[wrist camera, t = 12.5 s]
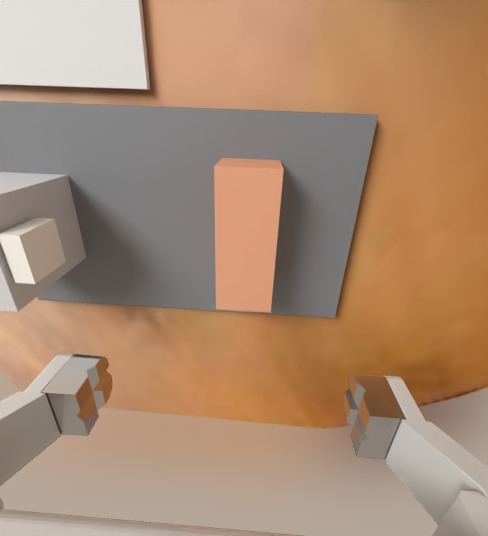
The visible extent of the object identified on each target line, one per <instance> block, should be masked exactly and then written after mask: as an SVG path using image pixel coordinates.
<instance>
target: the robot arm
mask: <svg viewBox="0 0 488 536" xmlns="http://www.w3.org/2000/svg"><path fill="white" fill-rule="evenodd" d="M108 366H109V363H108V360H107V358H105V357H100V356H90V355H79V354H66V353H60V354H58V355H56V356H55V357H54V358H53V359H52V361H51V362H50V363H49V364H48V365H47V366H46V367H45V368H44V370H43V371H42V372H41V373H40V374H39V375H38V376H37V377H36V378H35V380H34V381H33V382H32V383H31V384H30V385H29V386H28V387H27V388H26V390H25V391H24V392H17V393H15V394H13V395H11V396H10V397H8V398H6V399H4V400H2V401H0V486H1V485H2V484H4V483H5V482H6V481H7V480H8V479H10V478H11V477H12V476H13V475H15V474H16V473H17V472H18V471H19V470H21V469H22V468H23V467H24V466H25V465H26V464H28V463H29V462H30V461H31V460H33V459H34V458H35V457H36V456H37V455H39V454H40V453H41V452H42V451H44V450H45V449H46V448H47V447H48V446H50V445H51V444H52V443H53V442H54V441H56V440H57V439H58V438H59V437H60V436H61V435H82V436H88V435H89V433H90V431H91V429H92V428H93V426H94V424H95V422H96V420H97V419H98V411H97V410H98V409H100V408H101V407H103V406H104V405H105V404H106V403H107V401H108V399H109V397H110V394H111V390H112V377H111V375H110V374H109V373H108V372H107V371H106V370H107V368H108ZM348 384H349V387H350V389H349V390H347V391H346V392H345V396H344V414H345V418H346V422H347V423H348V424H349V425H350V426H351V427H352V428H353V429H352V432H351V439H352V443H353V446H354V449H355V453H356V456H357V457H364V458H373V459H383V460H385V462H386V463H387V464H388V466H389V467H390V468H391V469H392V470H393V471H394V473H395V474H396V475H397V476H398V478H399V479H400V480H401V481H402V482H403V484H404V485H405V486H406V487H407V488H408V490H409V491H410V492H411V493H412V494H413V496H414V497H415V498H416V499H417V500H418V501H419V503H420V504H421V505H422V506H423V507H424V509H425V510H426V511H427V512H428V513H429V515H430V516H431V517H432V518H433V520H434V521H435V522H436V523H437V524H438V527H437V529H436V531H435V532H434V533H433V535H432V536H488V467H487V466H486V465H485V464H484V463H482V462H481V461H480V460H479V459H477V458H476V457H475V456H474V455H472V454H471V453H470V452H469V451H467V450H466V449H465V448H463V447H462V446H461V445H460V444H458V443H457V442H456V441H454V440H453V439H452V438H451V437H450V436H448V435H447V434H446V433H444V432H443V431H442V430H441V429H439V428H438V427H437V426H436V425H434V424H433V423H432V422H428V421H425V419H424V417H423V415H422V413H421V412H420V410H419V408H418V406H417V405H416V403H415V401H414V399H413V397H412V396H411V394H410V392H409V390H408V389H407V387H406V385H405V383H404V381H403V380H402V378H400V377H399V376H384V375H383V376H381V375H367V374H351V375H350V377H349V380H348ZM60 434H61V435H60ZM3 508H4V507H3V501H2V500H1V498H0V536H303V535H291V534H280V533H268V532H257V531H246V530H235V529H223V528H212V527H200V526H188V525H177V524H166V523H153V522H143V521H131V520H119V519H108V518H97V517H85V516H73V515H62V514H51V513H39V512H27V511H16V510H5V509H3Z"/></svg>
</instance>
